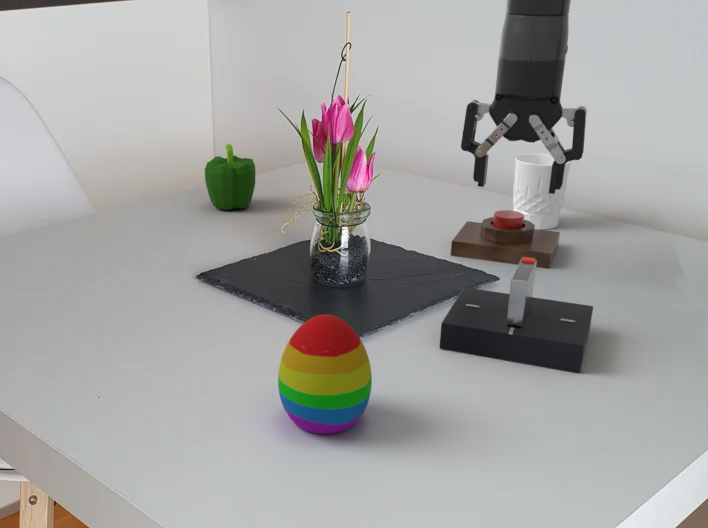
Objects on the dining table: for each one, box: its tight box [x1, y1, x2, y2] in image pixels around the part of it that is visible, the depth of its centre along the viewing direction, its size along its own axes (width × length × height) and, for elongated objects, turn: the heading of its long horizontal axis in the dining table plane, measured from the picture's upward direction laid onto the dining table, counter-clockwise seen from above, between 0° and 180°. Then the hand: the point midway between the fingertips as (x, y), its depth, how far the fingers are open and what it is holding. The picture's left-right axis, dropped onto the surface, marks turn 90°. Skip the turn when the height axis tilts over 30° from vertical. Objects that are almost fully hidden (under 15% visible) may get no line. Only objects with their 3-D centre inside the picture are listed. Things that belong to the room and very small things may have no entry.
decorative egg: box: [277, 313, 373, 435], centre depth 73 cm, size 8×8×10 cm
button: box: [493, 209, 524, 229], centre depth 115 cm, size 4×4×2 cm
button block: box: [450, 216, 561, 270], centre depth 116 cm, size 13×10×4 cm
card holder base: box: [439, 286, 594, 374], centre depth 89 cm, size 14×11×3 cm
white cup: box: [512, 153, 572, 230], centre depth 126 cm, size 8×8×10 cm
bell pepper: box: [204, 143, 256, 211], centre depth 136 cm, size 8×8×10 cm
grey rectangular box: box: [506, 257, 537, 327], centre depth 88 cm, size 7×2×5 cm, turn 156°
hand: (516, 188), depth 104 cm, fingers open, 8 cm apart
